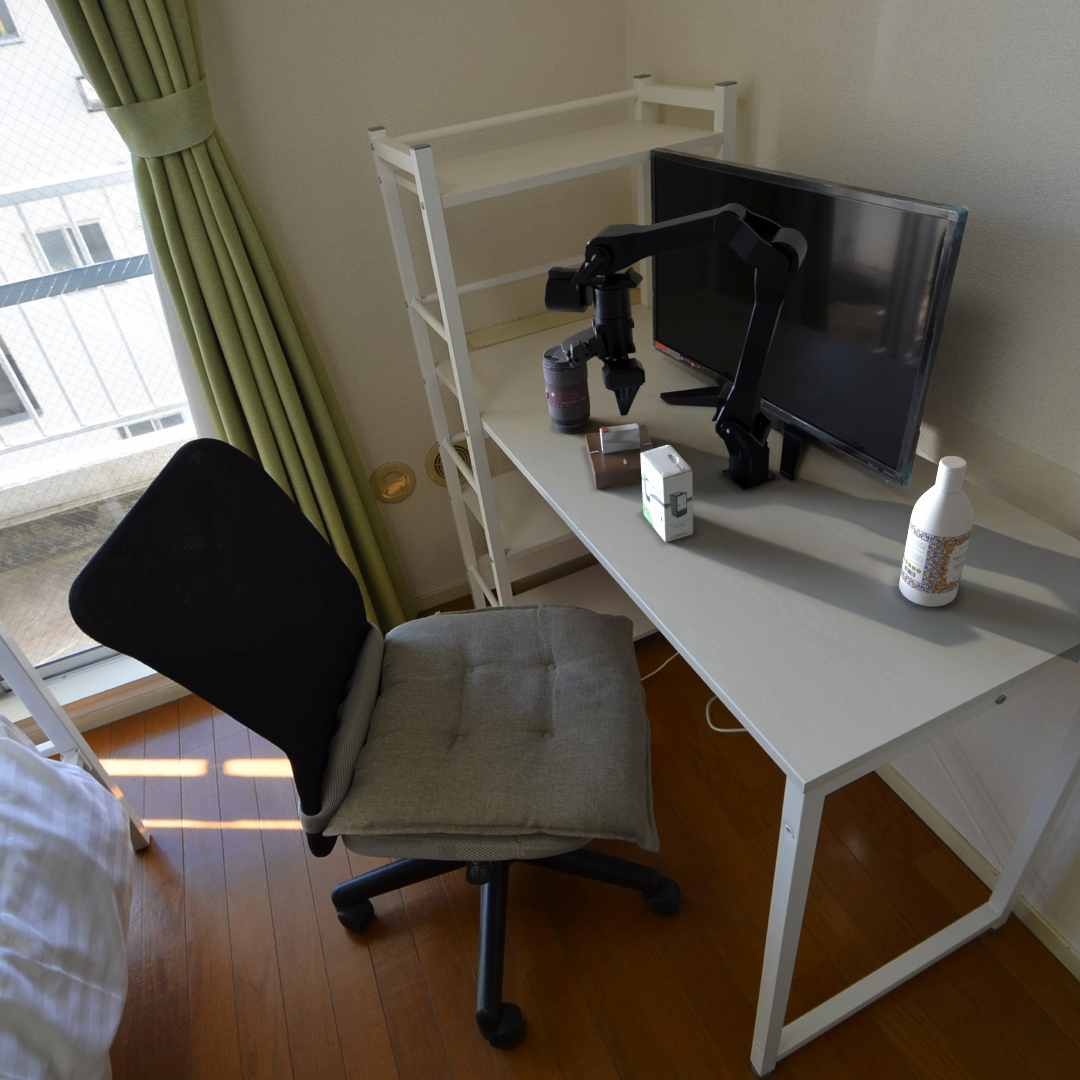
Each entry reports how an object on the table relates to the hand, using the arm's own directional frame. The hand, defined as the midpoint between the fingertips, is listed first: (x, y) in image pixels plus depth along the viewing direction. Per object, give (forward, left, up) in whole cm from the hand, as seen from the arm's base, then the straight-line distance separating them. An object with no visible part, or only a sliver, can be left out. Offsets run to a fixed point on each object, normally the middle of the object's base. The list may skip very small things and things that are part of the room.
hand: (619, 402), depth 135 cm
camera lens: (+18, +1, -12) cm, 21 cm away
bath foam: (-52, -17, -12) cm, 56 cm away
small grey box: (0, 0, -9) cm, 9 cm away
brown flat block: (0, 0, -12) cm, 12 cm away
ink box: (-20, +3, -12) cm, 24 cm away
